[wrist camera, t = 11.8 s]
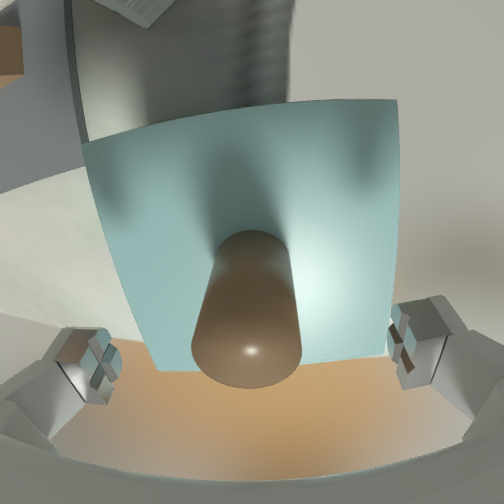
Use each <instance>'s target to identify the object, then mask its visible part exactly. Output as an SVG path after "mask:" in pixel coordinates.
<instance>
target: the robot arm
mask: <svg viewBox="0 0 504 504" xmlns="http://www.w3.org/2000/svg"><path fill="white" fill-rule="evenodd" d="M390 316H391V318H392V321H393V324H392V325H391V326H390V327H389V328H388V335H387V344H388V351H389V355H390V357H391V360H392V361H393V362H395V363H396V364H398V367H397V371H396V373H397V376H398V378H399V381H400V384H401V386H402V389H403V390H406V389H411V388H416V387H420V386H425V385H429V384H431V385H430V386H431V387H433V388H434V389H435V390H436V391H437V392H439V393H440V394H441V395H442V396H444V397H445V398H446V399H447V400H448V401H450V402H451V403H452V404H453V405H454V406H455V407H457V408H458V409H459V410H460V411H461V412H463V413H464V414H465V415H466V416H467V417H469V418H470V419H471V420H472V421H473V422H472V424H471V425H470V427H469V429H468V430H467V431H466V433H465V434H464V436H463V438H462V439H463V442H461V443H458V444H456V445H453V446H450V447H447V448H444V449H441V450H438V451H435V452H432V453H429V454H425V455H422V456H418V457H415V458H411V459H408V460H404V461H400V462H396V463H392V464H388V465H383V466H379V467H374V468H369V469H364V470H359V471H353V472H347V473H341V474H334V475H327V476H318V477H309V478H299V479H286V480H268V481H216V480H198V479H196V480H195V479H185V478H174V477H165V476H157V475H150V474H143V473H137V472H131V471H125V470H120V469H115V468H110V467H105V466H101V465H96V464H92V463H88V462H84V461H80V460H77V459H73V458H69V457H66V456H62V455H59V454H58V452H59V451H58V448H57V447H56V446H55V445H54V444H53V443H52V442H51V441H50V439H51V438H52V437H53V436H54V435H55V434H56V433H57V432H58V431H59V430H60V429H61V428H62V427H63V426H64V425H65V424H66V423H67V422H68V421H69V420H70V419H71V418H72V417H73V416H74V415H75V414H76V413H77V412H78V411H79V410H80V409H81V408H82V407H83V406H84V405H85V403H92V404H102V405H108V402H109V400H110V397H111V395H112V393H113V390H114V387H113V384H112V383H113V382H114V381H115V380H116V379H118V378H119V376H120V373H121V368H122V360H121V356H120V353H119V351H118V349H117V348H116V347H114V346H113V345H112V344H111V343H110V342H111V336H110V334H109V332H108V330H107V329H105V328H100V327H65V328H62V330H61V331H60V333H59V334H58V336H57V337H56V338H55V340H54V341H53V343H52V344H51V346H50V347H49V349H48V351H47V352H46V353H45V355H44V356H43V358H42V359H41V360H37V361H35V362H34V363H32V364H31V365H29V366H28V367H26V368H25V369H23V370H22V371H21V372H19V373H18V374H16V375H15V376H13V377H12V378H10V379H9V380H7V381H6V382H4V383H3V384H1V385H0V504H504V345H502V344H500V343H498V342H496V341H494V340H492V339H490V338H488V337H486V336H485V335H483V334H481V333H479V332H477V331H475V330H470V331H469V330H468V329H467V327H466V326H465V324H464V323H463V321H462V320H461V319H460V317H459V316H458V314H457V313H456V311H455V310H454V309H453V307H452V306H451V304H450V303H449V302H448V300H447V299H446V298H445V296H443V295H438V296H433V297H428V298H426V299H420V300H415V301H409V302H403V303H397V304H394V305H393V307H392V309H391V315H390Z"/></svg>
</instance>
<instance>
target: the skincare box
mask: <svg viewBox="0 0 504 504" xmlns="http://www.w3.org/2000/svg"><path fill="white" fill-rule="evenodd" d="M95 1H96V2H98V3H100V4H102V5H104V6H106V7H108V8H109V9H111V10H113V11H115V12H117V13H118V14H120V15H122V16H124V17H125V18H127V19H129V20H130V21H132V22H134V23H136V24H137V25H139V26H141V27H142V28H144V29H147V28H148V27H149V26H150V25H151V24H152V23H153V22H154V21H155V20H156V19H157V18H158V17H159V16H160V15H161V14H162V13H163V12H164V11H165V10H166V9H167V8H168V7H170V6H171V5H172V4H173V3H174V2H175V1H176V0H95Z"/></svg>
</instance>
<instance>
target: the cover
mask: <svg viewBox="0 0 504 504" xmlns="http://www.w3.org/2000/svg"><path fill="white" fill-rule="evenodd" d="M399 145H400V144H399V122H398V108H397V100H391V99H390V100H389V99H333V100H314V101H300V102H288V103H277V104H268V105H259V106H251V107H243V108H236V109H229V110H223V111H217V112H211V113H205V114H199V115H194V116H189V117H184V118H179V119H174V120H169V121H165V122H160V123H156V124H152V125H147V126H143V127H139V128H136V129H132V130H128V131H125V132H121V133H117V134H114V135H110V136H107V137H104V138H100V139H97V140H94V141H91V142H88V143H85V144H82V145H81V148H82V152H83V157H84V161H85V166H86V170H87V174H88V178H89V182H90V186H91V190H92V193H93V197H94V201H95V204H96V208H97V211H98V215H99V218H100V222H101V225H102V228H103V232H104V235H105V238H106V241H107V244H108V247H109V250H110V253H111V256H112V259H113V262H114V265H115V268H116V271H117V274H118V276H119V279H120V282H121V285H122V287H123V290H124V293H125V295H126V298H127V301H128V303H129V306H130V308H131V311H132V313H133V316H134V318H135V321H136V323H137V325H138V328H139V330H140V333H141V335H142V337H143V340H144V342H145V344H146V346H147V349H148V351H149V353H150V355H151V357H152V360H153V362H154V364H155V366H156V368H157V370H158V371H203V372H204V373H205V374H206V375H207V376H209V377H210V378H212V379H213V380H215V381H217V382H220V383H222V384H224V385H227V386H231V387H237V388H244V389H255V388H263V387H267V386H271V385H274V384H276V383H279V382H280V381H283V380H284V379H286V378H287V377H288V376H290V375H291V374H292V373H293V372H294V371H295V370H296V368H297V367H298V365H302V364H303V365H304V364H312V363H322V362H329V361H337V360H345V359H352V358H358V357H365V356H371V355H377V354H383V353H384V348H385V343H386V337H387V331H388V324H389V318H390V311H391V303H392V296H393V287H394V278H395V268H396V257H397V243H398V228H399V206H400V205H399V204H400V146H399Z"/></svg>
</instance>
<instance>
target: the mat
mask: <svg viewBox="0 0 504 504" xmlns="http://www.w3.org/2000/svg"><path fill="white" fill-rule="evenodd" d="M88 142H89V140H88V135H87V130H86V125H85V120H84V114H83V109H82V103H81V96H80V90H79V83H78V76H77V68H76V60H75V50H74V40H73V27H72V10H71V0H16V1H14V2H13V3H11V4H10V5H9V6H7V7H6V8H4V9H3V10H2V11H0V194H2V193H4V192H7V191H10V190H12V189H15V188H18V187H21V186H23V185H26V184H29V183H32V182H35V181H38V180H41V179H44V178H47V177H50V176H53V175H56V174H60V173H63V172H66V171H70V170H73V169H76V168H80V167H83V166H85V161H84V157H83V152H82V148H81V145H82V144H85V143H88Z"/></svg>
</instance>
